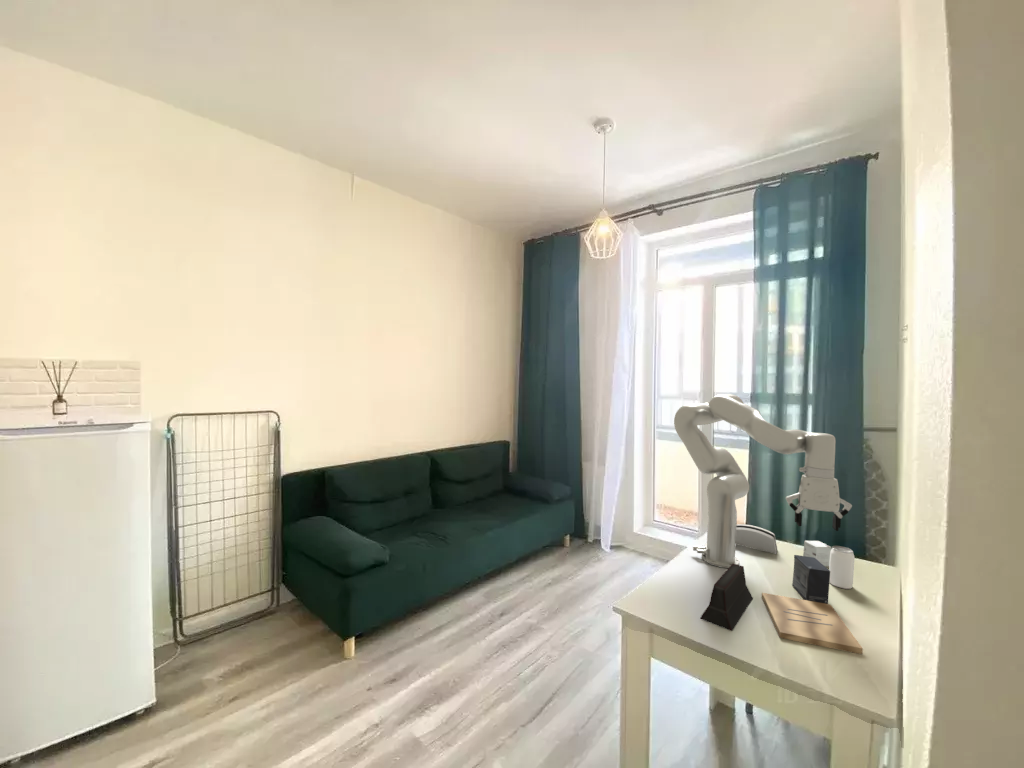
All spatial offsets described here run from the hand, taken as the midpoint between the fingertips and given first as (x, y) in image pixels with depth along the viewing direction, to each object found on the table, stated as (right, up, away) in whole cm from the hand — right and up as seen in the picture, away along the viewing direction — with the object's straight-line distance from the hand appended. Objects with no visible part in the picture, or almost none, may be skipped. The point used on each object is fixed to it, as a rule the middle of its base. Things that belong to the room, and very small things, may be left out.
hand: (816, 527), depth 137 cm
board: (-13, -22, -15) cm, 29 cm away
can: (+14, -22, +9) cm, 28 cm away
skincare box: (+18, -22, +26) cm, 38 cm away
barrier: (-32, -22, -8) cm, 39 cm away
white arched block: (+1, -21, +39) cm, 44 cm away
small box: (-1, -22, +1) cm, 22 cm away
